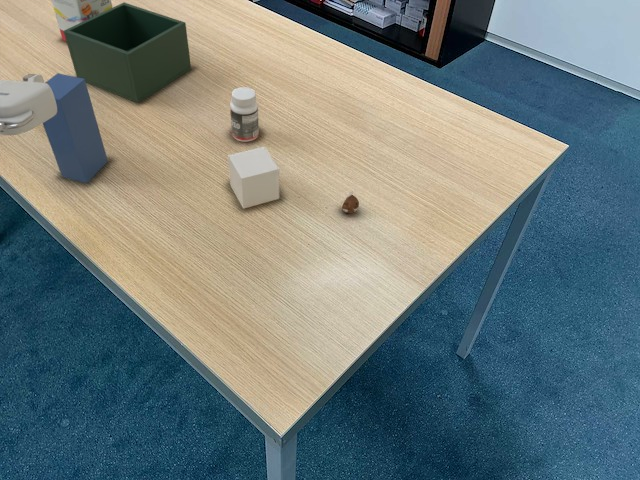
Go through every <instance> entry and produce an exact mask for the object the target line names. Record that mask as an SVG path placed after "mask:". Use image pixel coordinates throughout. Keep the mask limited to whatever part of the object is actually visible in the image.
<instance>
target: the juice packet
mask: <svg viewBox="0 0 640 480" xmlns="http://www.w3.org/2000/svg"><path fill="white" fill-rule="evenodd" d="M44 83H47V84H48V85H49V86H50V87H51V89H52V91H53V94H54V97H55V100H56V104H57V113H56V115H55V116H53V117H52V118H50V119H49V120H47V121H46V122H44V123H42V126H43V128H44V132H45V134H46V136H47V140H48V142H49V146H50V148H51V151H52V153H53V156H54V159H55V162H56V164H57V166H58V170H59V172H60V175H61V177H62V178H65V179H69V180H72V181H76V182H81V183H85V184H88V183H89V182H90V181H91V180H92V179H93V178H94V177H95V175H97V174H98V172H100V170H101V169H102V168H103V167H104V166H105V165H106V164H107V163H108V162H109V160H108V157H107V153H106V149H105V146H104V142H103V138H102V136H101V132H100V131H101V130H100V128H99V125H98V121H97V118H96V113H95V111H94V108H93V107H94V106H93V103H92V100H91V96H90V93H89V89H88V86H87V83H86V82H85V79H82V78H77V76H72V75H68V74H65V73H64V74H63V73H59V72H58V73H56V74H55V75H53V76H52V77H50V78H49V79H48V80H47V81H45V82H44Z"/></svg>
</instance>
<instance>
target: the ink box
mask: <svg viewBox="0 0 640 480" xmlns="http://www.w3.org/2000/svg"><path fill="white" fill-rule="evenodd" d="M51 3H52V7H53V12H54V14H55V18H56V22H57V25H58V28H59V32H60V35H61V38H62V40H63V41H64V42H66V38H65V35H64V32H63V31H64V30H66V29H68V28H71V27H73V26H75V25H77V24H79V23H81V22H83V21H85V20H88V19H90V18H92V17H94V16H96V15H98V14H100V13H102V12H105V11H107V10H109V9H111V8H113V3H112V0H51Z"/></svg>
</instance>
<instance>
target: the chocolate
mask: <svg viewBox="0 0 640 480" xmlns="http://www.w3.org/2000/svg"><path fill="white" fill-rule="evenodd" d="M355 191H356V189H353V190H351V191H350V192H347V194H346V198H345V199H344V201H343V202H342V203H341V206H340V209H341V212H343V213H346V214H353V213H355V212H356V211H358V210H359V206H360V201H359V199H358V197H356V196H355V195H353V194H354V193H355Z"/></svg>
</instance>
